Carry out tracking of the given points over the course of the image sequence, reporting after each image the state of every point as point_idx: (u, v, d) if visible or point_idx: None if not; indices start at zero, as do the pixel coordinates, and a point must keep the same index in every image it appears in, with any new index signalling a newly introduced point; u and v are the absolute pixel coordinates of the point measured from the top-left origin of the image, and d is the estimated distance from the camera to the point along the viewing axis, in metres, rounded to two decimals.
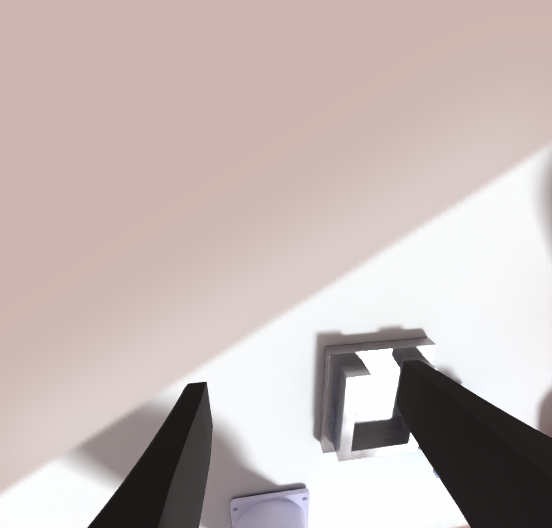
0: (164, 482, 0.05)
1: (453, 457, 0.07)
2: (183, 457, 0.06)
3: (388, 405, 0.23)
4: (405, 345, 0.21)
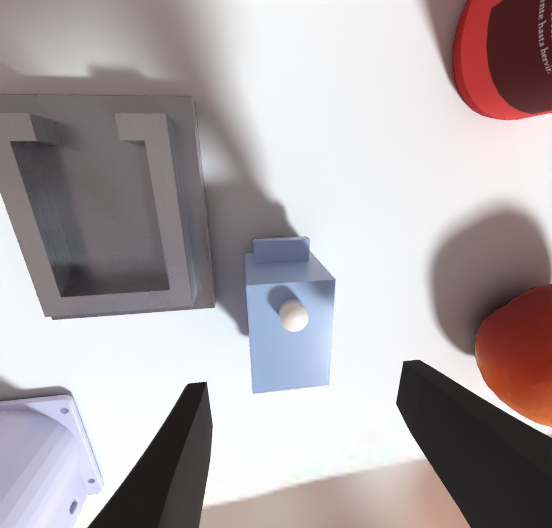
0: (164, 482, 0.05)
1: (453, 457, 0.07)
2: (183, 457, 0.06)
3: (141, 229, 0.14)
4: None
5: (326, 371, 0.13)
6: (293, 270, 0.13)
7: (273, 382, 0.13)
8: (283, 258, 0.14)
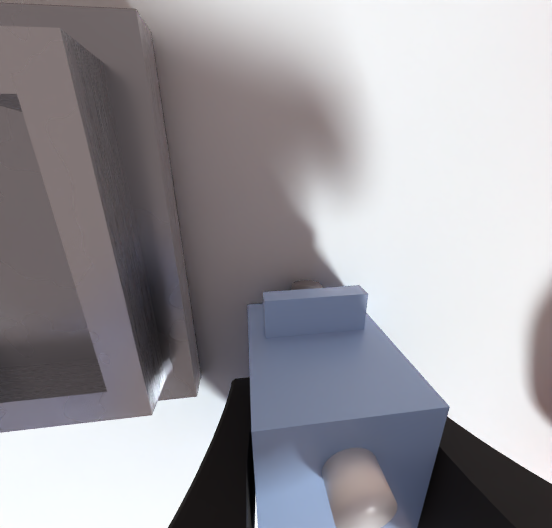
0: (237, 471, 0.06)
1: None
2: (248, 448, 0.06)
3: (56, 274, 0.07)
4: (20, 10, 0.06)
5: None
6: (345, 365, 0.06)
7: None
8: (318, 327, 0.08)
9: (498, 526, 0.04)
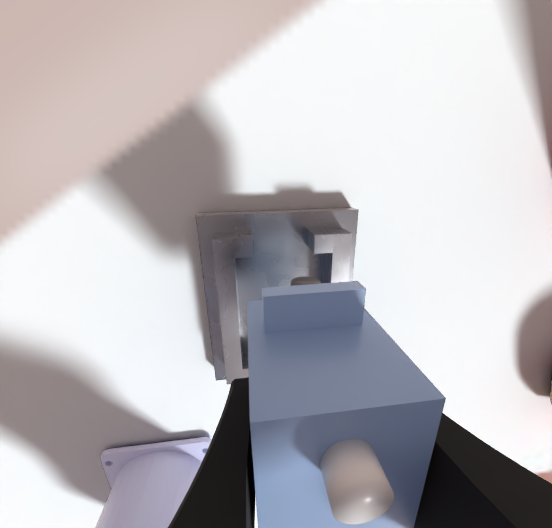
0: (237, 471, 0.06)
1: None
2: (248, 448, 0.06)
3: None
4: (314, 210, 0.15)
5: None
6: (343, 358, 0.06)
7: None
8: (317, 323, 0.08)
9: (498, 526, 0.04)
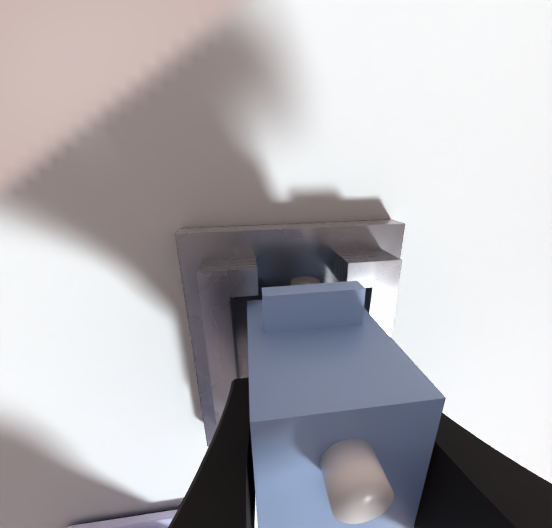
0: (237, 472, 0.06)
1: None
2: (248, 448, 0.06)
3: None
4: (342, 225, 0.10)
5: None
6: (342, 358, 0.06)
7: None
8: (317, 322, 0.08)
9: (498, 526, 0.04)
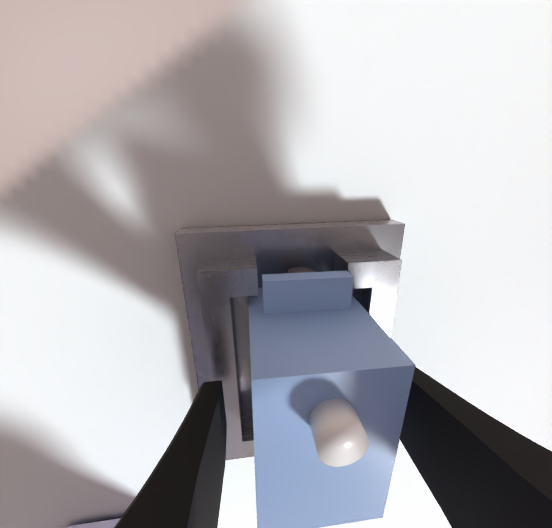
0: (189, 478, 0.05)
1: (437, 459, 0.07)
2: (205, 454, 0.06)
3: None
4: (342, 225, 0.10)
5: (381, 500, 0.08)
6: (331, 335, 0.07)
7: (293, 520, 0.08)
8: (310, 306, 0.09)
9: (550, 516, 0.05)
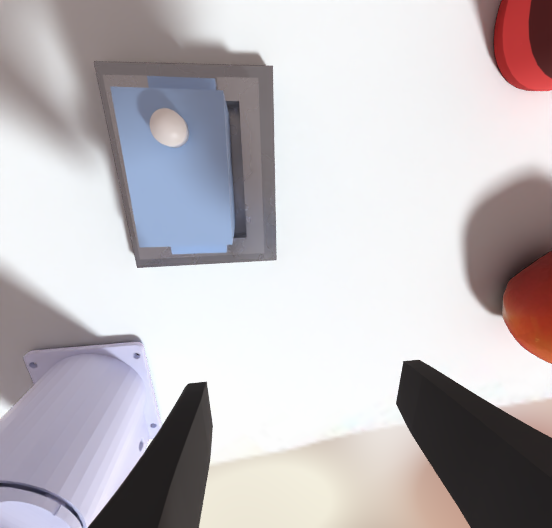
0: (164, 481, 0.05)
1: (453, 457, 0.07)
2: (183, 457, 0.06)
3: None
4: None
5: (227, 225, 0.11)
6: None
7: (163, 233, 0.11)
8: None
9: None
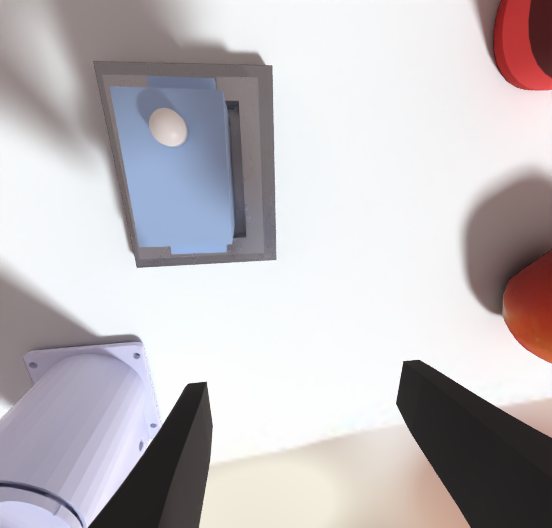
0: (165, 482, 0.05)
1: (453, 457, 0.07)
2: (183, 457, 0.06)
3: None
4: None
5: (226, 224, 0.11)
6: None
7: (162, 233, 0.11)
8: None
9: None
